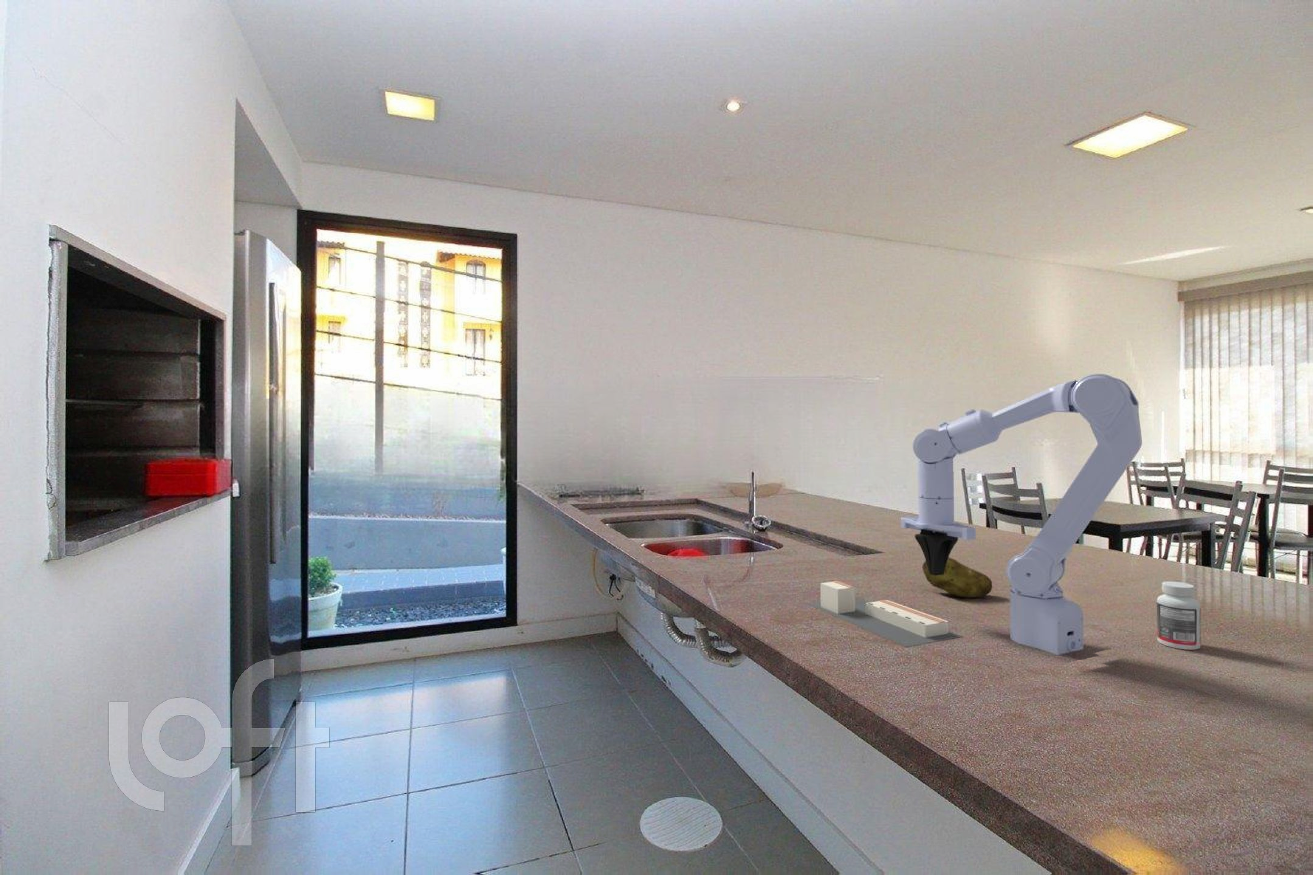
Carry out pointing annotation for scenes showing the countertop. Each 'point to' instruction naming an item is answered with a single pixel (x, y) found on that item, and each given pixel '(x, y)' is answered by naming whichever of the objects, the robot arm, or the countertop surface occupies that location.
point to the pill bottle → (1178, 616)
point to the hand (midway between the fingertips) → (936, 574)
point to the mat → (883, 626)
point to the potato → (960, 580)
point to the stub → (838, 597)
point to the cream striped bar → (907, 618)
